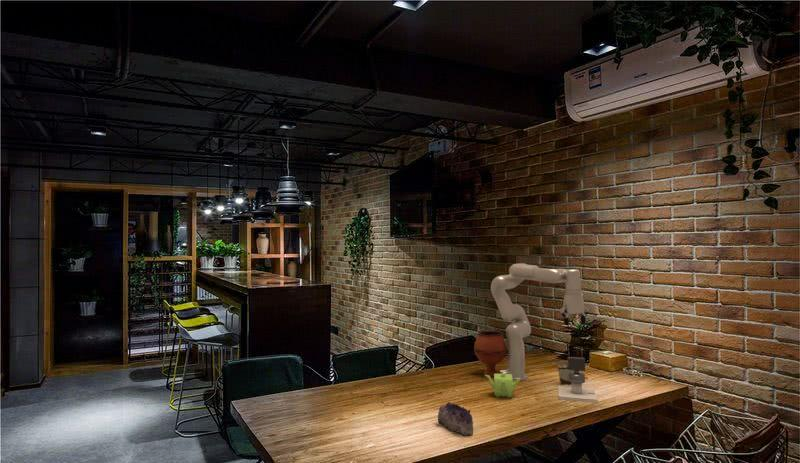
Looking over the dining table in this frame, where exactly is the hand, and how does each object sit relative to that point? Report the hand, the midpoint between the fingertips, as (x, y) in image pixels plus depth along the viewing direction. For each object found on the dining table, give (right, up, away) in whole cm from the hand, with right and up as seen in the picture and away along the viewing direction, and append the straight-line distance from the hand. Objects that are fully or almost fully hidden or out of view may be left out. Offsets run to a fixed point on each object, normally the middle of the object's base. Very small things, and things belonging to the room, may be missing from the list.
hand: (574, 324), depth 245 cm
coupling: (-2, -27, -10) cm, 29 cm away
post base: (-3, -34, -10) cm, 36 cm away
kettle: (-41, -35, -9) cm, 54 cm away
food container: (0, -35, +11) cm, 37 cm away
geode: (-68, -34, -50) cm, 91 cm away
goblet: (-39, -36, +30) cm, 61 cm away
